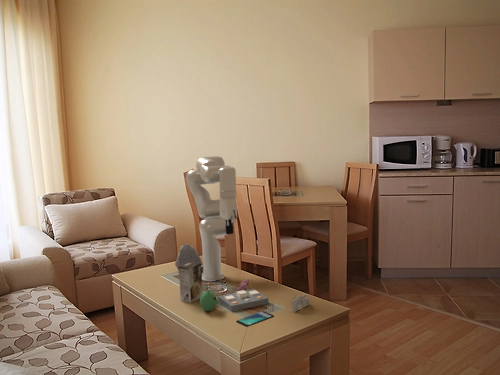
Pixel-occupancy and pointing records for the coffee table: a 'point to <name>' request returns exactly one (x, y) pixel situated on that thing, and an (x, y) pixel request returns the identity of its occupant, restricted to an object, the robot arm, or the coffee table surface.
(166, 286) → the coffee table surface
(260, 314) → the smartphone
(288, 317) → the coffee table surface
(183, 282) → the coffee box
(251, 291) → the button
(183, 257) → the decorative rock
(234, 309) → the button board
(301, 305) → the garden wall model
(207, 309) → the alien toy
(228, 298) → the button
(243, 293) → the button middle
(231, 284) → the coffee table surface
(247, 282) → the pink curved piece
